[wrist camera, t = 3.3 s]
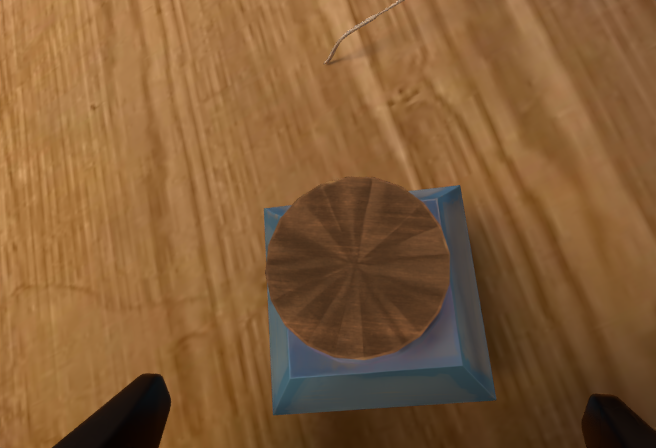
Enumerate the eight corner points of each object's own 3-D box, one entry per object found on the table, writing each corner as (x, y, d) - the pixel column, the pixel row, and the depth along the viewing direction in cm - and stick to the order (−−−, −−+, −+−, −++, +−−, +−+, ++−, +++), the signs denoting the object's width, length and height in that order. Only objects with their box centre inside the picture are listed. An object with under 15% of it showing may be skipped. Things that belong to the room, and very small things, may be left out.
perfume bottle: (310, 391, 19) (180, 474, 7) (300, 247, 20) (183, 124, 9) (461, 380, 18) (588, 452, 6) (438, 232, 20) (508, 77, 8)
